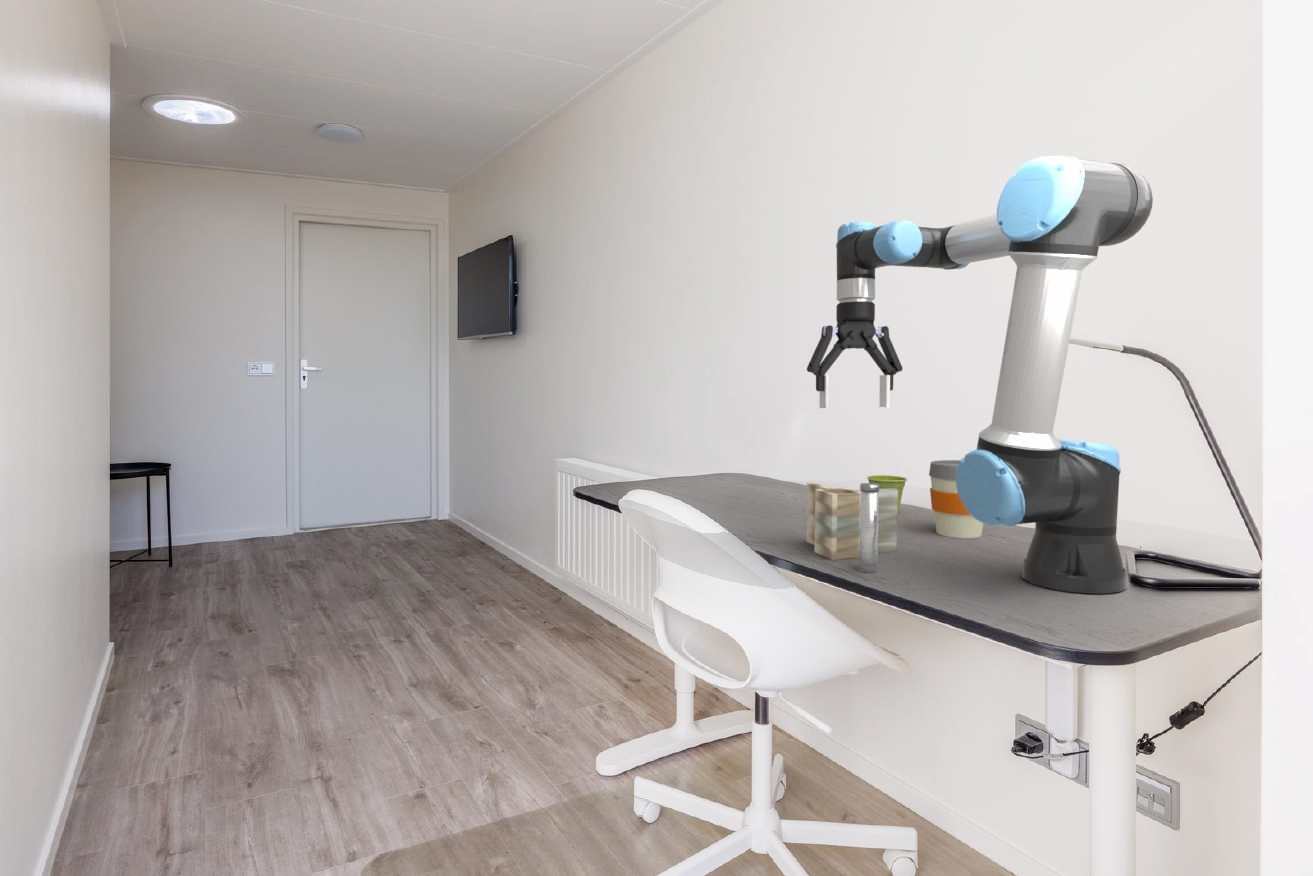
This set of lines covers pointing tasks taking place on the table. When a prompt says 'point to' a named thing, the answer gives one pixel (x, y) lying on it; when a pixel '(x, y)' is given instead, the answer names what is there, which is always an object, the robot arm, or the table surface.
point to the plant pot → (890, 484)
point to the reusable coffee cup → (950, 503)
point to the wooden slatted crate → (846, 521)
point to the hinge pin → (869, 527)
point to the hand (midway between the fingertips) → (854, 407)
